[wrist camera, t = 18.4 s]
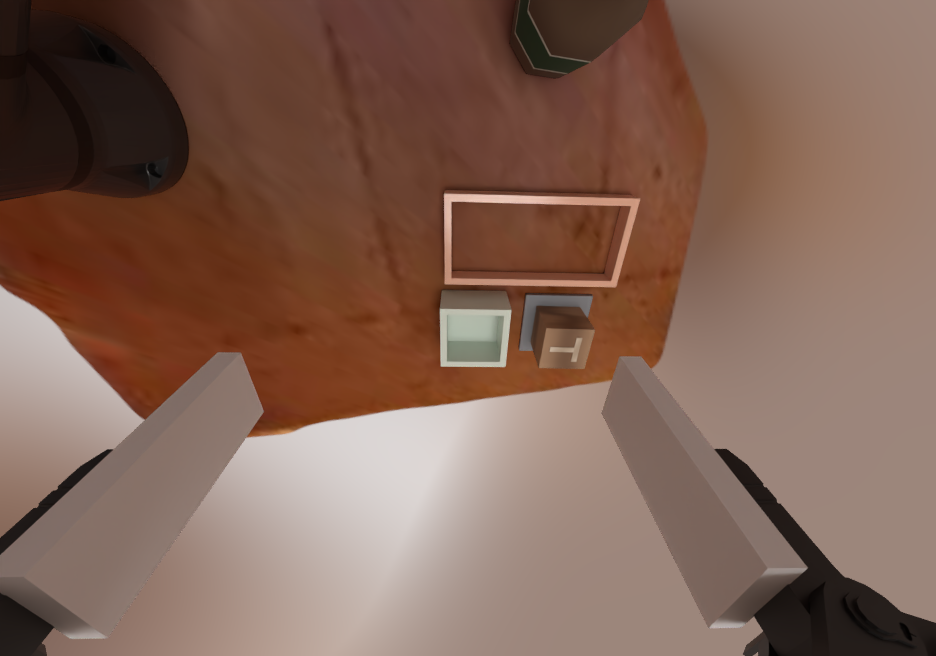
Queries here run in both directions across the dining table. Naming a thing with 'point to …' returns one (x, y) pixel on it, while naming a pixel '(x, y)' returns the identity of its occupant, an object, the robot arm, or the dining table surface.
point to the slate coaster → (547, 300)
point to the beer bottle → (568, 32)
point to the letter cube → (561, 337)
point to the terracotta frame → (536, 278)
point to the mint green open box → (474, 328)
